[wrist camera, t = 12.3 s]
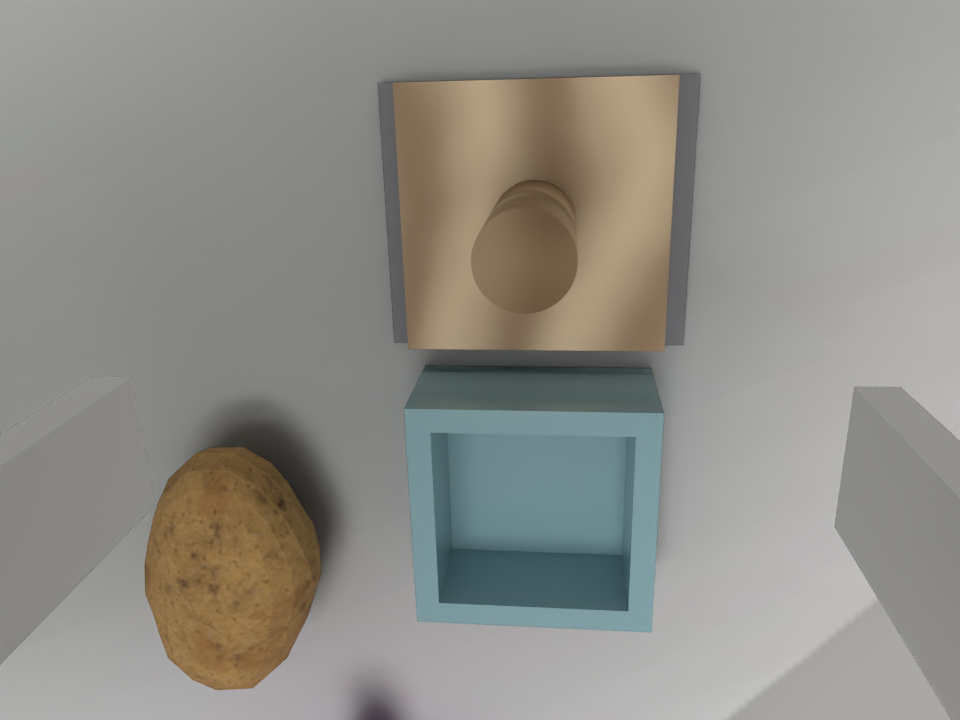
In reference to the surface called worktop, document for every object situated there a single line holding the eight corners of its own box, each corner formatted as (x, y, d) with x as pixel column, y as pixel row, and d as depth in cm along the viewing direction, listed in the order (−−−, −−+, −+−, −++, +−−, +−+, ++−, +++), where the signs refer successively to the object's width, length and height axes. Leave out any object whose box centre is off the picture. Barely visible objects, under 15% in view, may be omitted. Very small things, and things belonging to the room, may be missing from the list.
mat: (396, 338, 42) (394, 342, 42) (380, 82, 38) (377, 83, 37) (681, 341, 41) (683, 345, 40) (698, 73, 36) (700, 73, 36)
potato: (343, 423, 44) (297, 493, 37) (337, 628, 49) (296, 726, 42) (176, 403, 45) (98, 467, 38) (187, 606, 50) (119, 699, 42)
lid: (411, 342, 42) (366, 419, 32) (397, 82, 37) (339, 82, 28) (662, 345, 40) (690, 424, 31) (676, 74, 36) (715, 72, 27)
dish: (435, 556, 47) (417, 621, 41) (425, 365, 43) (403, 408, 37) (641, 564, 45) (651, 632, 40) (650, 368, 41) (663, 413, 36)
